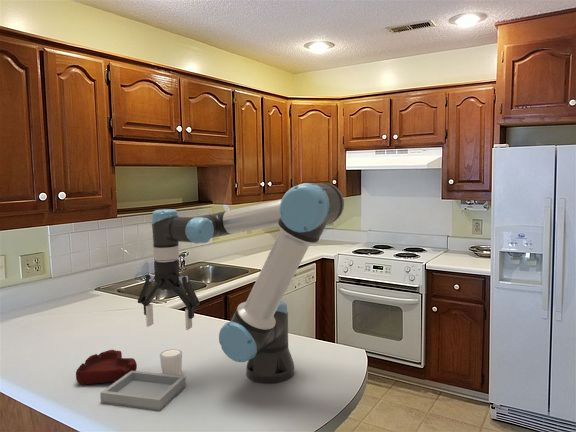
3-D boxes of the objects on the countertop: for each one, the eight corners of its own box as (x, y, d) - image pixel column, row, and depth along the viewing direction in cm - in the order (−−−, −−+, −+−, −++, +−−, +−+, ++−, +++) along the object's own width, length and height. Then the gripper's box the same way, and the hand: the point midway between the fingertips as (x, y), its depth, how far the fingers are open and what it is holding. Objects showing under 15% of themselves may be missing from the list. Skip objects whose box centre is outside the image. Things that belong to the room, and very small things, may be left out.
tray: (185, 386, 134) (185, 376, 134) (159, 410, 120) (159, 400, 120) (131, 379, 139) (131, 370, 138) (100, 403, 125) (100, 392, 125)
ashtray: (66, 377, 142) (65, 362, 142) (116, 361, 154) (115, 347, 153) (88, 396, 130) (87, 379, 129) (141, 377, 141) (140, 361, 141)
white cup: (160, 380, 138) (159, 358, 137) (160, 371, 144) (159, 350, 144) (183, 377, 140) (182, 355, 139) (182, 368, 146) (181, 347, 146)
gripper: (209, 258, 139) (211, 325, 141) (138, 256, 146) (141, 320, 148) (197, 263, 132) (200, 334, 134) (123, 260, 138) (127, 327, 140)
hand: (169, 326), depth 141 cm, fingers open, 13 cm apart
